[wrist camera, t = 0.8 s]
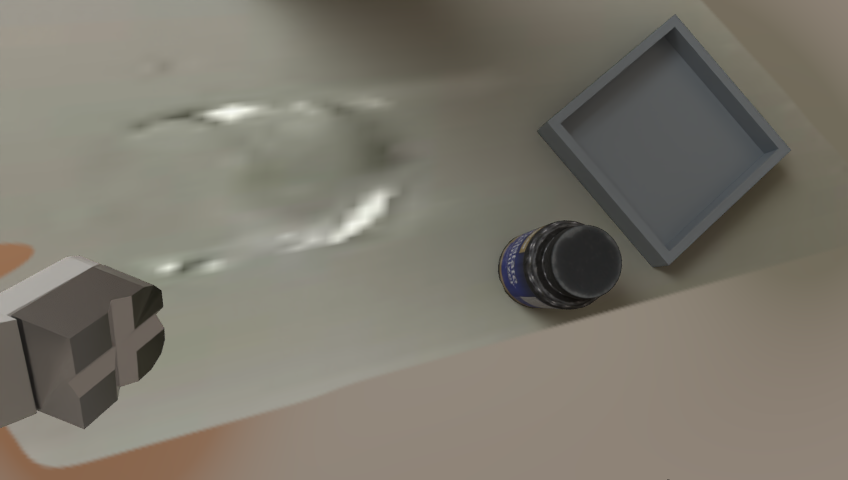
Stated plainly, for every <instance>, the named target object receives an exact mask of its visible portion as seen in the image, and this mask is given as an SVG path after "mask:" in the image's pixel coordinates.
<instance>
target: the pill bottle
mask: <svg viewBox="0 0 848 480" xmlns="http://www.w3.org/2000/svg"><path fill="white" fill-rule="evenodd" d="M621 267H622V259H621V254H620V250H619V247H618V246H617V244H616V242H615V241H614V239H613V238H612V237H611V236H610V235H609V234H608V233H607V232H605V231H604V230H602V229H600V228H598V227H595V226H591V225H584V224H582V223H579V222H575V221H565V220H564V221H557V222H554V223H551V224H548V225H546V226H543V227H540V228H538V229H535V230H532V231H530V232H527V233H525V234H522V235H520V236H518V237H516V238H514V239H512V240H511V241H510V242H509V243H508V244H507V246H506V247H505V248H504V250H503V252H502V254H501V256H500V259H499V264H498V274H499V279H500V281H501V283H502V284H503V287H504V290H505V292H506V293H507V294H508V295H509V296H510V297H511V298H512V299H513V300H514V301H516V302H517V303H519V304H522V305H524V306H528V307H532V308H553V309H577V308H582V307H585V306H587V305H589V304H591V303H592V302H593V301H595V300H596V299H597V298H599V297H600V296H602V295H604V294H606V293H607V292H608V291H610V290H611V289H612V288H613V287H614V285H615V284H616V282H617V281H618V279H619V276H620V273H621Z"/></svg>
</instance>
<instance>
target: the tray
mask: <svg viewBox="0 0 848 480" xmlns="http://www.w3.org/2000/svg"><path fill="white" fill-rule="evenodd" d="M537 132H538V133H539V134H540V135H541V136H542V138H543V139H544V140H545V141H546V142H547V143H548V145H549V146H550V147H551V148H552V149H553V151H554V152H555V153H556V154H557V155H558V156H559V158H560V159H561V160H562V161H563V162H564V163H565V165H566V166H567V167H568V168H569V169H570V171H571V172H572V173H573V174H574V175H575V176H576V178H577V179H578V180H579V181H580V182H581V183H582V185H583V186H584V187H585V188H586V189H587V191H588V192H589V193H590V194H591V195H592V196H593V198H594V199H595V200H596V201H597V202H598V203H599V205H600V206H601V207H602V208H603V209H604V211H605V212H606V213H607V214H608V215H609V216H610V218H611V219H612V220H613V221H614V222H615V223H616V225H617V226H618V227H619V228H620V229H621V231H622V232H623V233H624V234H625V235H626V236H627V238H628V239H629V240H630V241H631V242H632V244H633V245H634V246H635V247H636V248H637V249H638V251H639V252H640V253H641V254H642V255H643V256H644V258H645V259H646V260H647V261H648V262H649V264H650V265H651V266H652V267H659V266H667V265H670V264H671V263H672V262H673V261H674V260H675V259H676V258H677V257H678V256H679V255H680V254H681V253H682V252H683V251H685V250H686V249H687V248H688V247H689V246H690V245H691V244H692V243H693V242H694V241H695V240H696V239H697V238H698V237H699V236H700V235H702V234H703V233H704V232H705V231H706V230H707V229H708V228H709V227H710V226H711V225H712V224H713V223H714V222H715V221H716V220H717V219H719V218H720V217H721V216H722V215H723V214H724V213H725V212H726V211H727V210H728V209H729V208H730V207H731V206H732V205H733V204H734V203H736V202H737V201H738V200H739V199H740V198H741V197H742V196H743V195H744V194H745V193H746V192H747V191H748V190H749V189H750V188H751V187H752V186H754V185H755V184H756V183H757V182H758V181H759V180H760V179H761V178H762V177H763V176H764V175H765V174H766V173H767V172H768V171H769V170H771V169H772V168H773V167H774V166H775V165H776V164H777V163H778V162H779V161H780V160H781V159H782V158H783V157H784V156H785V155H786V154H788V153H789V152H790V151H791V149H790V148H789V147H788V146H787V145H786V143H785V142H784V141H783V140H782V139H781V138H780V136H779V135H778V134H777V133H776V132H775V131H774V129H773V128H772V127H771V126H770V125H769V123H768V122H767V121H766V120H765V119H764V118H763V116H762V115H761V114H760V113H759V112H758V111H757V109H756V108H755V107H754V106H753V105H752V104H751V102H750V101H749V100H748V99H747V98H746V97H745V95H744V94H743V93H742V92H741V91H740V89H739V88H738V87H737V86H736V85H735V84H734V82H733V81H732V80H731V79H730V78H729V77H728V75H727V74H726V73H725V72H724V71H723V70H722V68H721V67H720V66H719V65H718V64H717V63H716V61H715V60H714V59H713V58H712V57H711V56H710V54H709V53H708V52H707V51H706V50H705V48H704V47H703V46H702V45H701V44H700V43H699V41H698V40H697V39H696V38H695V37H694V36H693V34H692V33H691V32H690V31H689V30H688V29H687V27H686V26H685V25H684V24H683V23H682V22H681V20H680V19H679V18H678V17H677V16H676V14H675V15H673V16H672V17H671V18H670V19H669V20H667V21H666V22H665V23H664V24H663V25H661V26H660V27H659V28H658V29H657V30H655V31H654V32H653V33H652V34H651V35H650V36H648V37H647V38H646V39H645V40H644V41H642V42H641V43H640V44H639V45H638V46H636V47H635V48H634V49H633V50H632V51H630V52H629V53H628V54H627V55H626V56H625V57H623V58H622V59H621V60H620V61H619V62H617V63H616V64H615V65H614V66H613V67H611V68H610V69H609V70H608V71H607V72H605V73H604V74H603V75H602V76H601V77H599V78H598V79H597V80H596V81H595V82H594V83H592V84H591V85H590V86H589V87H588V88H586V89H585V90H584V91H583V92H582V93H580V94H579V95H578V96H577V97H576V98H574V99H573V100H572V101H571V102H570V103H569V104H567V105H566V106H565V107H564V108H563V109H561V110H560V111H559V112H558V113H557V114H555V115H554V116H553V117H552V118H551V119H549V120H548V121H547V122H546V123H545V124H544V125H543V126H542V127H541V128H540V129H539V130H538V131H537Z"/></svg>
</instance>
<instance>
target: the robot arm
mask: <svg viewBox="0 0 848 480" xmlns="http://www.w3.org/2000/svg"><path fill="white" fill-rule="evenodd" d="M162 308H163V299H162V290H160V289H159V288H157V287H156V286H154V285H152V284H150V283H147V282H145V281H142V280H140V279H137V278H135V277H133V276H130V275H128V274H125V273H123V272H120V271H118V270H115V269H113V268H111V267H108V266H106V265H102V264H99V263H97V262H94V261H92V260H89V259H87V258H85V257H82V256H80V255H79V256H67V257H65V258H64V259H62V260H60V261H58V262H56V263H54V264H53V265H51V266H49V267H47V268H45V269H43V270H42V271H40V272H38V273H36V274H34V275H32V276H31V277H29V278H27V279H25V280H23V281H21V282H20V283H18V284H16V285H14V286H12V287H10V288H9V289H7V290H5V291H3V292H1V293H0V428H2V427H4V426H7V425H9V424H12V423H14V422H17V421H19V420H21V419H24V418H26V417H29V416H31V415H34V414H36V413H37V410H38V411H40V412H43V413H45V414H48V415H50V416H53V417H55V418H58V419H60V420H63V421H65V422H68V423H70V424H73V425H75V426H78V427H80V428H83V429H85V428H86V427H87V426H89V425H90V424H91V423H92V422H93V421H94V420H95V419H96V418H98V417H99V416H100V415H101V414H102V413H103V412H104V411H106V410H107V409H108V408H109V407H110V406H111V405H112V404H113V403H115V402H116V401H117V400H118V395H119V390H120V387H121V386H124V385H128V384H131V383H134V382H137V381H139V380H140V379H141V378H142V377H144V376H145V375H146V374H147V373H148V372H149V371H150V370H151V369H152V368H153V366H154V364H155V363H156V361H157V359H158V358H159V356H160V355H161V353H162V349H163V345H164V341H165V333H164V327H163V325H162V324H161V322H160V320H159V319H158V317H157V315H156V314H157V313H158V312H159V311H160V310H161V309H162Z"/></svg>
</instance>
